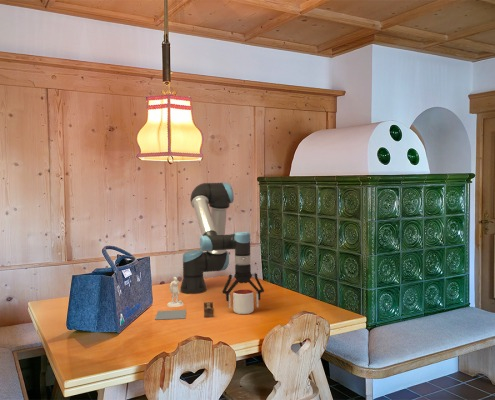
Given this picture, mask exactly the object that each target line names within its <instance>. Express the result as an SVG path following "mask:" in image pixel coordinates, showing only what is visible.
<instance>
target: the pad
mask: <svg viewBox="0 0 495 400" xmlns="http://www.w3.org/2000/svg"><path fill="white" fill-rule="evenodd" d="M186 316H187V309H177V310H175V309H174V310H173V309H172V310H157V312H156V315H155V318H154V321H168V320H185V319H186Z"/></svg>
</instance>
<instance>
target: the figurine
mask: <svg viewBox="0 0 495 400" xmlns="http://www.w3.org/2000/svg"><path fill="white" fill-rule="evenodd" d="M179 284H180V281H179V280H178V278H177V277H176V276H173V281H171V282H170V285H169V287H168V288H169V291H170V293H171V294H172V296H171V301H168V303H167V304H166V307H169V308H179V307H182V306H184V302H183V301H182V300H179V296H178V295H181V291H180V289H179ZM174 299H175V300H174Z"/></svg>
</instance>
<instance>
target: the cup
mask: <svg viewBox="0 0 495 400" xmlns="http://www.w3.org/2000/svg"><path fill="white" fill-rule="evenodd" d="M254 294H255V292H254V291H253V290H251V289H237V290H234V291H233V292H232V301H233V302H232V307H233V312H234V313H235V314H238V315H249V314H252V313H253V312H254V309H255V307H254V306H255V304H254V299H255V298H254V296H255V295H254Z"/></svg>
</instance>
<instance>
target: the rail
mask: <svg viewBox="0 0 495 400" xmlns="http://www.w3.org/2000/svg"><path fill="white" fill-rule="evenodd" d="M214 310H215V309H214V302H211V301H210V302H209V301H208V302H207V301H206V302H203V316H204V318H214V315H215V314H214Z"/></svg>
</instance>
